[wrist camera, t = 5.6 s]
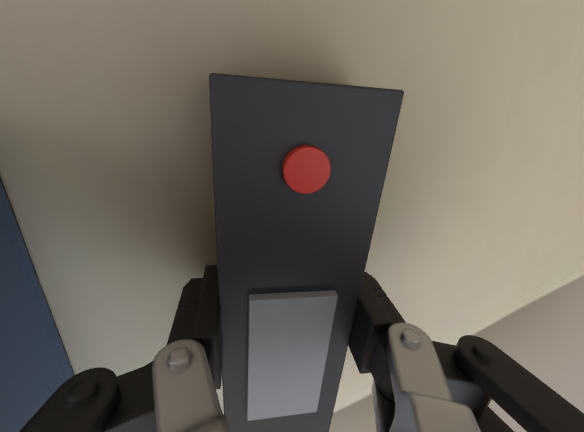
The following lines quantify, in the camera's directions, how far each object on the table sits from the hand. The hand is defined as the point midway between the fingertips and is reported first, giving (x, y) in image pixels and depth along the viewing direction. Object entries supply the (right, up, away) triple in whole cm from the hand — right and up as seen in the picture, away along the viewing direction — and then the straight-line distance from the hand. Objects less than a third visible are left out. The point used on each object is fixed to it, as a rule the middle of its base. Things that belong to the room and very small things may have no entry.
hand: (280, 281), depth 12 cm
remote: (0, 0, +1) cm, 1 cm away
